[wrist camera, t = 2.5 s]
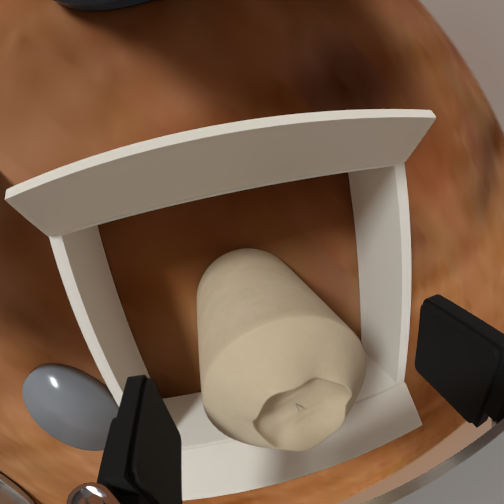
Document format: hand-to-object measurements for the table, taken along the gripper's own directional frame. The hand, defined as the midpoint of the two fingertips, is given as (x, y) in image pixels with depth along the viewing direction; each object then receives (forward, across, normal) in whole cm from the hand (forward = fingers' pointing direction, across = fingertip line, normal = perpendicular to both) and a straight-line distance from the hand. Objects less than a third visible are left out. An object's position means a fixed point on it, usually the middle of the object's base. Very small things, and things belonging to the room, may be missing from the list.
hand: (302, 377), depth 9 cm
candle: (+8, +1, 0) cm, 9 cm away
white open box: (+8, +1, 0) cm, 8 cm away
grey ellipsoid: (+8, +15, +6) cm, 18 cm away
